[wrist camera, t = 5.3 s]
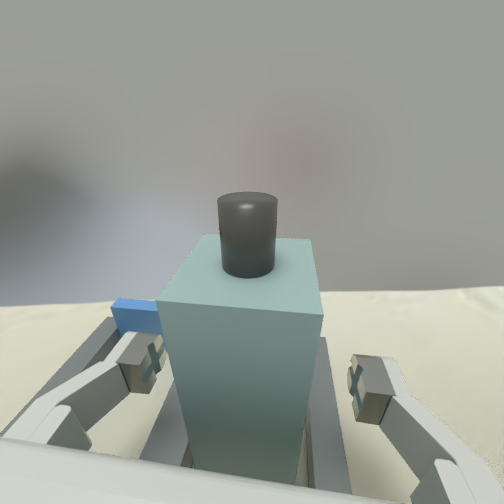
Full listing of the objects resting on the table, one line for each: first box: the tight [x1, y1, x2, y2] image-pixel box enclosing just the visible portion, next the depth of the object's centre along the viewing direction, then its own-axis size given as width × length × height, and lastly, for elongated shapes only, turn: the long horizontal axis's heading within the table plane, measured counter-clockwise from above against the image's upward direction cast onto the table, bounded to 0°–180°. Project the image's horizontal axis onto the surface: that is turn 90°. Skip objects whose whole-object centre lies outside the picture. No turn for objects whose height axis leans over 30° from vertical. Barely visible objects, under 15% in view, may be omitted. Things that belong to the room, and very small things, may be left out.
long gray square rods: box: [0, 298, 352, 495], centre depth 13 cm, size 17×14×4 cm
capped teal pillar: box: [155, 192, 324, 485], centre depth 10 cm, size 4×4×14 cm
